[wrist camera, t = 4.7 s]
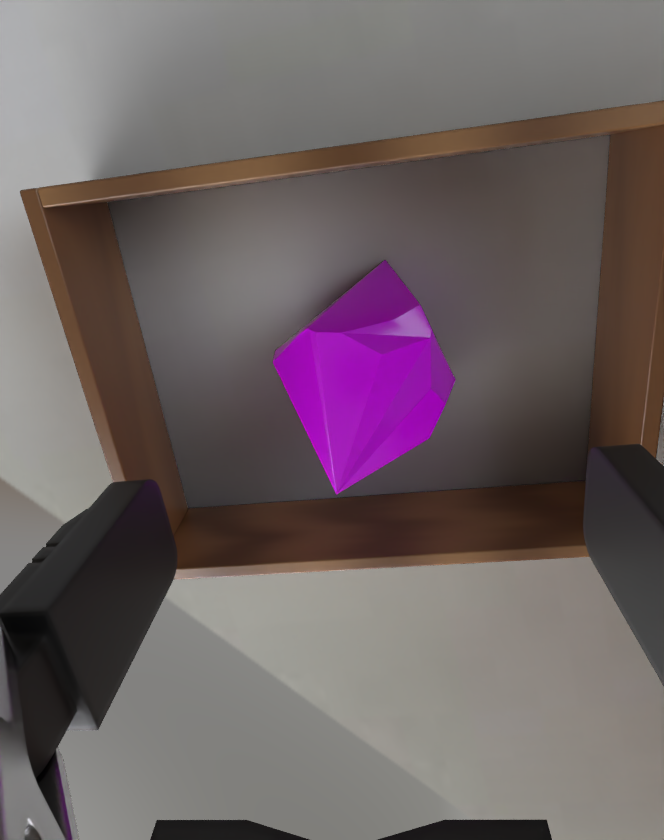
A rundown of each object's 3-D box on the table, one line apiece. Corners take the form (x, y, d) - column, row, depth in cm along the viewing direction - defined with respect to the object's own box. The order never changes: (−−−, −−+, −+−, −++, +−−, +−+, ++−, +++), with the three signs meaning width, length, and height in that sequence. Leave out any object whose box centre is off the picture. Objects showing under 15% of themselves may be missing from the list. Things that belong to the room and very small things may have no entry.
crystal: (458, 383, 20) (482, 437, 16) (328, 442, 21) (318, 506, 17) (397, 252, 18) (405, 273, 14) (260, 324, 20) (230, 364, 15)
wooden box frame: (179, 518, 23) (144, 581, 20) (89, 188, 18) (17, 190, 14) (597, 490, 21) (644, 554, 18) (628, 113, 16) (703, 94, 13)
